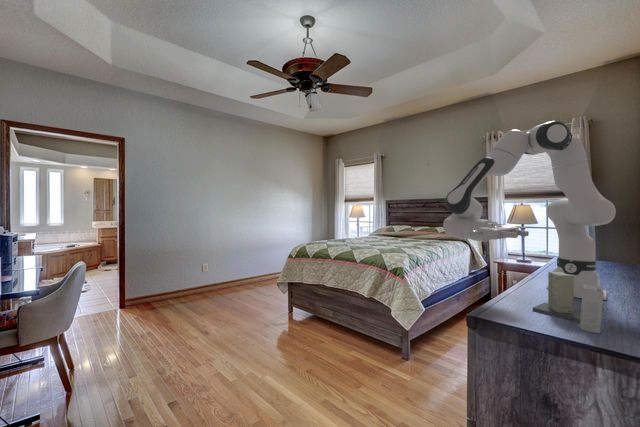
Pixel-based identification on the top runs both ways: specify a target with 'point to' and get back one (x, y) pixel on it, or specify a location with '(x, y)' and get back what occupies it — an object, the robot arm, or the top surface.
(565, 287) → the skincare box
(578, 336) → the top surface
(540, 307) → the charcoal mat
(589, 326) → the skincare box
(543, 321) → the top surface
